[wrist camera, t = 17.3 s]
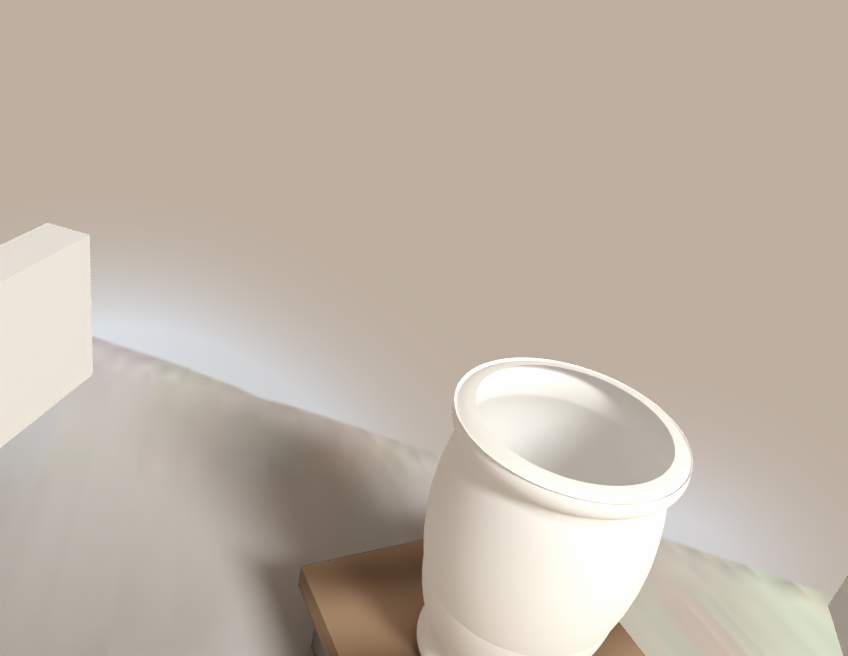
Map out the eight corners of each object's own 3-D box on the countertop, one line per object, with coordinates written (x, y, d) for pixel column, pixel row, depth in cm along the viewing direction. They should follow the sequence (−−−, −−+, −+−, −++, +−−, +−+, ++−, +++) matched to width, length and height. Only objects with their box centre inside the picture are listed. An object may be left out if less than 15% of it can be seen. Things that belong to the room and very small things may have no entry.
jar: (371, 700, 36) (432, 452, 29) (420, 550, 45) (475, 333, 38) (590, 774, 35) (710, 535, 28) (595, 605, 44) (686, 392, 37)
